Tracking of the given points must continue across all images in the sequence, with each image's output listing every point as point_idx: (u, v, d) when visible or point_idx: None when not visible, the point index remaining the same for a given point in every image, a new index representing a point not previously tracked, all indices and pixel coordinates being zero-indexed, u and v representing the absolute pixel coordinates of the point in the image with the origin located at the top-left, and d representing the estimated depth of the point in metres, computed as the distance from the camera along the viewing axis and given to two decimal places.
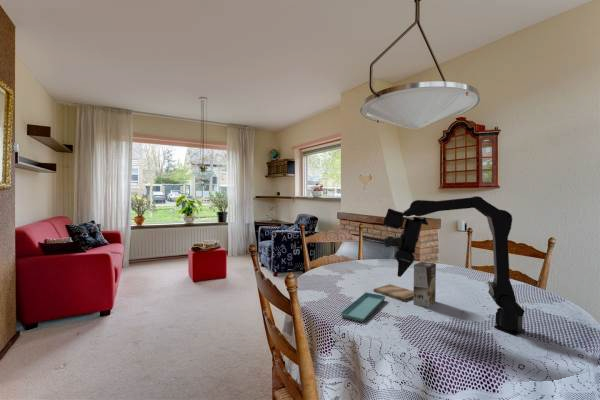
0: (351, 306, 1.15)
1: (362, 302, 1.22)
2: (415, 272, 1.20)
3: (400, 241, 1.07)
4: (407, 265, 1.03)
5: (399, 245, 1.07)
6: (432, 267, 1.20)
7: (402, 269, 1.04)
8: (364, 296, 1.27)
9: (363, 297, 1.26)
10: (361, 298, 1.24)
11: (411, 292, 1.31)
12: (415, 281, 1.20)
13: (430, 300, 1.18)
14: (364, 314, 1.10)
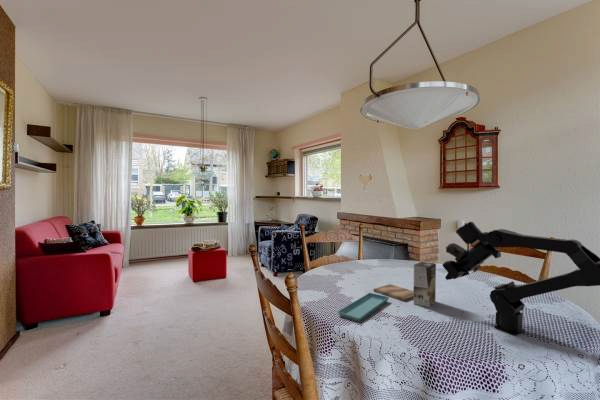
0: (351, 305, 1.16)
1: (364, 302, 1.22)
2: (415, 272, 1.20)
3: (460, 255, 1.07)
4: None
5: (457, 258, 1.08)
6: (432, 267, 1.20)
7: (451, 275, 1.12)
8: (367, 296, 1.27)
9: (366, 297, 1.26)
10: (363, 298, 1.24)
11: (411, 292, 1.31)
12: (415, 281, 1.20)
13: (430, 300, 1.18)
14: (362, 314, 1.10)
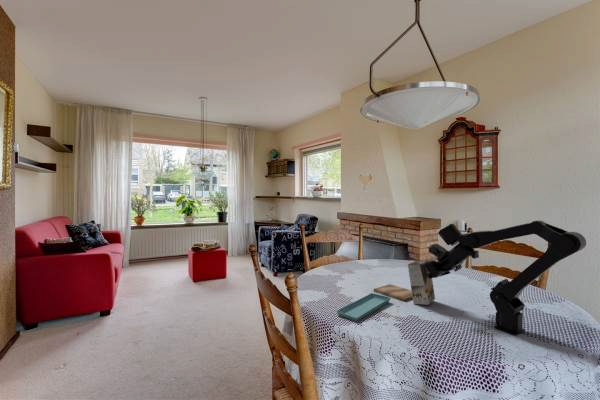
0: (351, 305, 1.16)
1: (365, 302, 1.22)
2: (410, 271, 1.22)
3: (441, 255, 1.13)
4: None
5: (438, 258, 1.14)
6: None
7: None
8: (369, 296, 1.26)
9: (368, 297, 1.25)
10: (365, 298, 1.24)
11: (411, 292, 1.31)
12: (411, 280, 1.21)
13: (429, 297, 1.18)
14: (361, 314, 1.10)
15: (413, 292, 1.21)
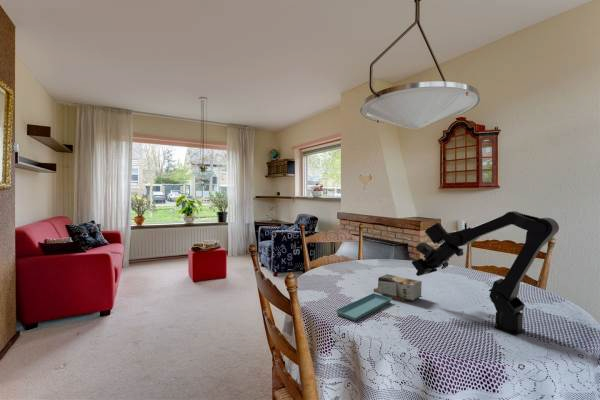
0: (351, 305, 1.16)
1: (366, 302, 1.22)
2: (383, 291, 1.29)
3: (428, 253, 1.18)
4: None
5: (425, 256, 1.18)
6: (383, 276, 1.34)
7: None
8: (370, 297, 1.26)
9: (369, 297, 1.25)
10: (366, 298, 1.24)
11: None
12: (391, 293, 1.27)
13: (409, 283, 1.24)
14: (361, 314, 1.10)
15: (402, 295, 1.24)
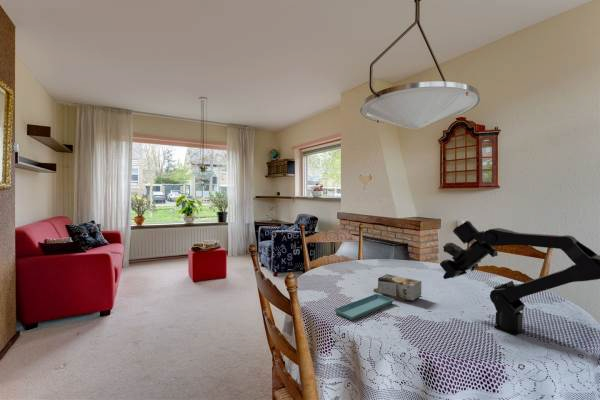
0: (351, 304, 1.17)
1: (367, 302, 1.21)
2: (383, 291, 1.29)
3: (457, 254, 1.08)
4: None
5: (454, 257, 1.09)
6: (383, 276, 1.34)
7: (448, 275, 1.13)
8: (373, 297, 1.25)
9: (371, 298, 1.25)
10: (368, 298, 1.23)
11: None
12: (391, 293, 1.27)
13: (409, 283, 1.23)
14: None
15: (402, 296, 1.24)
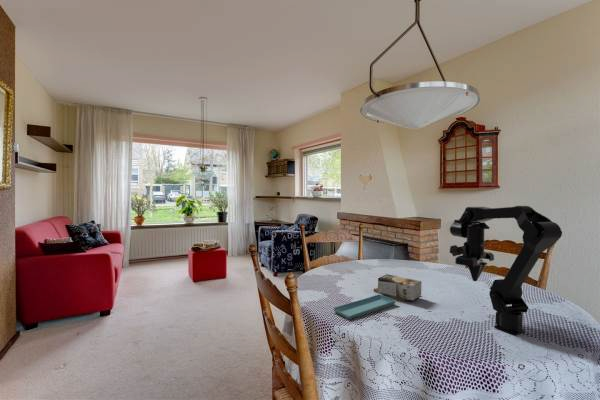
0: (351, 304, 1.17)
1: (369, 303, 1.21)
2: (383, 291, 1.29)
3: (464, 249, 1.12)
4: (477, 269, 1.09)
5: (464, 253, 1.12)
6: (383, 276, 1.34)
7: (474, 273, 1.11)
8: (376, 298, 1.25)
9: (374, 298, 1.24)
10: (370, 299, 1.23)
11: None
12: (391, 293, 1.27)
13: (409, 283, 1.23)
14: None
15: (402, 296, 1.24)
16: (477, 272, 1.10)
